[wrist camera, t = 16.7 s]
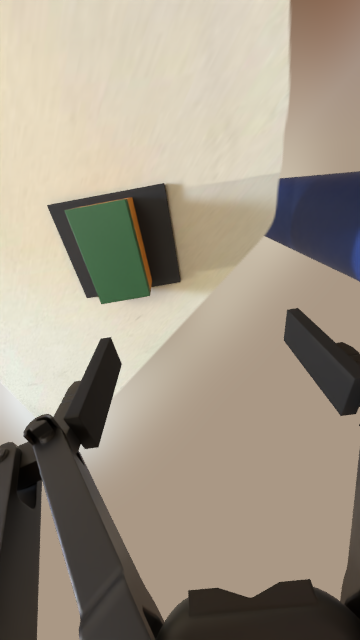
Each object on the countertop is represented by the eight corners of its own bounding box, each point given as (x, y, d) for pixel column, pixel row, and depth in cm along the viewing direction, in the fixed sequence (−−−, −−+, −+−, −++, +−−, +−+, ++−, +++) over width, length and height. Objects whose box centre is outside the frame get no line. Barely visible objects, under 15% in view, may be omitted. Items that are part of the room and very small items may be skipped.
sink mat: (164, 183, 29) (164, 183, 28) (180, 280, 36) (180, 282, 36) (49, 204, 29) (46, 205, 29) (88, 296, 37) (86, 298, 36)
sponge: (81, 206, 29) (63, 210, 24) (132, 197, 29) (125, 198, 24) (110, 287, 35) (101, 304, 30) (152, 280, 35) (150, 296, 30)
